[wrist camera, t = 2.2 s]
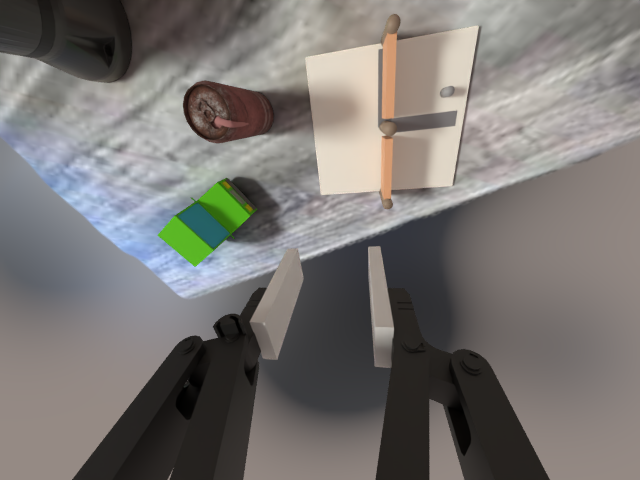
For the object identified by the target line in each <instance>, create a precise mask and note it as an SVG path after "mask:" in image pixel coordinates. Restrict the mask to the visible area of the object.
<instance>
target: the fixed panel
mask: <svg viewBox="0 0 640 480" xmlns="http://www.w3.org/2000/svg"><path fill="white" fill-rule="evenodd" d="M399 26H400V17H399V16H398V15H397V14H393V15H391V16H390V17H389V18H388V20H387V23H386V26H385V29H384V33H383V36H382V39H381V45H382V47H383V72H382V118H383V119H389V118H394V99H395V72H396V45H397V30H398V28H399ZM379 129H380V131H381V132H382V133H384V134H385V135H387V136H393V135H394V134H395V133H396V131H397V126H396V124H395V123H393V122H389V121H383V122H381V124H380V126H379Z"/></svg>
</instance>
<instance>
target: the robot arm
mask: <svg viewBox="0 0 640 480" xmlns="http://www.w3.org/2000/svg"><path fill="white" fill-rule="evenodd" d="M0 52H1V53H7V54H13V55H20V56H25V57H30V58H35V59H37V60H40V61H42V62H44V63H46V64H49V65H51V66H53V67H55V68H57V69H60V70H62V71H64V72H66V73H69V74H71V75H73V76H76V77H78V78H81V79H84V80H89V81H96V82H112V81H115V80H117V79H119V78H120V77H121V76H122V75H123V74H124V73H125V71H126V70H127V68H128V65H129V62H130V58H131V34H130V29H129V25H128V21H127V18H126V14H125V12H124V9H123V7H122V4H121V2H120V0H0ZM368 251H369V288H370V302H371V317H372V331H373V345H374V360H375V367H388V368H391V374H390V381H389V388H388V395H387V403H386V409H385V416H384V424H383V430H382V438H381V445H380V452H379V459H378V466H377V473H376V480H429V399H431V400H434V401H436V402H439V403H441V404H443V406H444V409H445V413H446V417H447V420H448V424H449V427H450V431H451V434H452V437H453V441H454V445H455V448H456V452H457V455H458V459H459V462H460V465H461V469H462V473H463V476H464V479H465V480H550V479H549V477H548V475H547V474H546V472H545V470H544V468H543V466H542V464H541V462H540V460H539V458H538V456H537V455H536V452H535V451H534V448H533V447H532V445H531V443H530V441H529V439H528V437H527V435H526V433H525V431H524V430H523V427H522V425H521V423H520V422H519V420H518V418H517V416H516V414H515V412H514V410H513V408H512V406H511V404H510V402H509V400H508V399H507V396H506V395H505V393H504V391H503V389H502V387H501V385H500V383H499V381H498V379H497V378H496V375H495V374H494V371H493V369H492V368H491V366H490V365H489V363H488V362H487V360H486V359H484V358H483V357H482V356H481V355H479V354H477V353H475V352H473V351H471V350H465V349H461V350H457V351H455V352H453V354H451V353H448V352H445V351H441V350H439V349H436V348H434V347H433V346H431V345H429V344H428V343H427V342H426V341H425V340H424V338H423V337H422V335H421V332H420V329H419V325H418V322H417V318H416V315H415V311H414V308H413V305H412V301H411V298H410V295H409V294H408V293H407V291H406V290H405V289H404V288H387V285H386V278H385V273H384V267H383V261H382V256H381V249H380V247H368ZM302 282H303V274H302V268H301V263H300V258H299V252H298V249H287V251H286V253H285V255H284V257H283V259H282V261H281V262H280V264H279V266H278V268H277V270H276V272H275V274H274V276H273V278H272V280H271V282H270V284H269V286H268V287H267V288H258V289H257V290H256V291H255V292H254V293H253V294H252V296H251V298H250V299H249V301H248V303H247V304H246V307H245V308H244V309H243V311H242V313H241V315H240V316H239V315H237V314H228V315H225V316H223V317H222V318H220V319H219V320H218V321H217V322H216V323H215V324H214V326H213V328H214V330H215V332H216V334H217V336H218V338H216V339H211V340H207V341H203V340H202V339H201V338H200V337H199V336H190V337H188V338H185V339H184V340H182V341H181V342H179V343H178V344H177V345H176V346H175V348H174V349H173V350H172V352H171V353H170V354H169V355H168V357H167V358H166V360H165V361H164V362H163V363H162V364H161V366H160V367H159V368H158V370H157V371H156V372H155V374H154V375H153V376H152V378H151V379H150V380H149V381H148V383H147V384H146V385H145V386H144V388H143V389H142V390H141V392H140V393H139V394H138V395H137V397H136V398H135V399H134V401H133V402H132V403H131V404H130V406H129V407H128V408H127V410H126V411H125V412H124V414H123V415H122V416H121V417H120V419H119V420H118V421H117V423H116V424H115V425H114V426H113V428H112V429H111V431H110V432H109V433H108V434H107V435H106V437H105V438H104V439H103V441H102V442H101V443H100V444H99V446H98V447H97V448H96V450H95V451H94V452H93V454H92V455H91V456H90V457H89V459H88V460H87V461H86V463H85V464H84V465H83V466H82V468H81V469H80V470H79V472H78V473H77V474H76V476H75V477H74V478H73V479H72V480H167V479H168V477H169V475H170V474H171V471H172V470H173V472H172V474H171V478H170V480H243V477H244V470H245V463H246V456H247V449H248V442H249V435H250V427H251V421H252V414H253V406H254V399H255V392H256V386H257V378H258V372H259V362H258V357H259V355H260V352H261V354H262V357H263V358H264V359H274V360H277V358H278V355H279V352H280V349H281V346H282V343H283V340H284V336H285V334H286V331H287V328H288V325H289V322H290V319H291V315H292V312H293V309H294V306H295V303H296V300H297V297H298V294H299V291H300V288H301V285H302ZM187 380H188V381H187ZM186 382H187V383H186ZM185 383H186V384H185ZM173 468H174V469H173Z"/></svg>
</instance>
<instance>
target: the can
mask: <svg viewBox="0 0 640 480" xmlns="http://www.w3.org/2000/svg"><path fill="white" fill-rule="evenodd" d="M183 109H184V115H185V117H186V120H187V122H188V124H189V126H190V127H191V129H192V130H193V131H194V132H195V133H196V134H197V135H198V136H200V137H202V138H204V139H205V140H207V141H209V142H213V143H223V142H228V141H233V140H238V139H242V138H247V137H252V136H257V135H262V134H264V133H266V132H267V131H268V130H269V129H270V128H271V126H272V123H273V115H274V114H273V109H272V106H271V104H270V102H269V101H268V99H267V98H266V97H265V96H264V95H262V94H261V93H259V92H255V91H251V90H246V89H242V88H237V87H233V86H228V85H224V84H219V83H215V82H210V81H200V82H197V83H195V84H194V85H193V86H192V87H190V88H189V89H188V90H187V92H186V94H185V96H184V101H183Z"/></svg>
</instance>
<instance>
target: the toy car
mask: <svg viewBox="0 0 640 480" xmlns="http://www.w3.org/2000/svg"><path fill="white" fill-rule="evenodd" d="M191 199H192V200H194V199H193V198H191ZM194 201H195V200H194ZM256 210H257V208H256V207H255V206H254V205H253V204H252V203H251V202H250V201H249V200H248V199H247V198H246V197H245V196H244V194H243V193H242V192H241V191H240V190H239V189H238V188H237V187H236V186H235V185H234V184H233V183H232V182H231V181H230V180H229V179H228V178H225V179H223V180H221V181H219V182H217V183H216V184H215V185H214V186H213V187H212V188H211V189H209V190H208V191H207V192H206V193H205V194H204V195H203V196H202V197H201V198H200V199H199V200H197V201H195V202H194V203H193V204H191V205H190V206H188V207H187V208H186V209H184V210H183V211H181V212H180V213H178V214H177V215H175V216H174V217H173V218H172V219H171V221H170V222H169V223H168V224H167V225H166V226H165V227H164V228H163V230H162V231H161V232H160V233H159V234H158V236H159V237H160V238H161V239H163V240H164V241H165V242H166V243H167V244H168V245H170V246H171V247H172V248H173V249H174V250H176V251H177V252H178V253H179V254H180V255H181V256H183V257H184V258H185V259H186V260H187V261H189V262H190V263H191V264H192V265H193V266H195V267H196V266H197V265H198V264H199V263H200V262H201V261H202V260H204V259H205V258H206V257H207V256H208V255H209V254H210V253H212V252H213V251H214V250H215V249H216V248H217V247H218V246H219V245H220V244H221V243H222V242H224V241H225V240H226V239H227V238H228V237H229V236H230V235H231V234H232V233H233V232H234V231H235V230H236V229H237V228H239V227H240V226H241V225H242V224H243V223H244V222H245V221H246V220H247V219H248V218H249V217H250V216H251V215H252V214H253V213H254V212H255V211H256ZM231 236H232V235H231ZM232 238H233V239H235V238H234V237H233V236H232Z"/></svg>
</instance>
